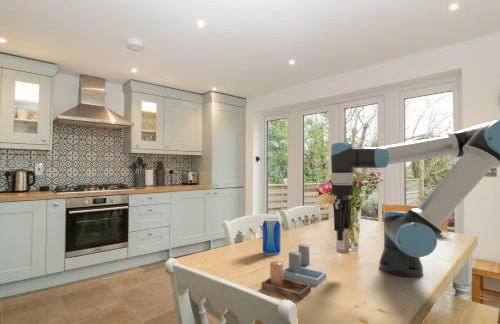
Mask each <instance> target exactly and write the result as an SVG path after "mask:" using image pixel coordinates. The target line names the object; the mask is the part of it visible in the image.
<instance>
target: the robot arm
mask: <svg viewBox="0 0 500 324" xmlns="http://www.w3.org/2000/svg"><path fill="white" fill-rule="evenodd" d="M442 157H451V158H459V159H458V160H457V161H456V162H455V164H454V165H453V166H452V167H451V168H450V169H449V170H448V172H447V173H446V174H445V175H444V176H443V177H442V179H441V180H440V181H439V182H438V183H437V184H436V185H435V186H434V188H433V189H432V190H431V191H430V193H429V194H428V195H427V196H426V197H425V199H424V200H423V201H421V203H420V204H418V206H417V207H416V208H409V209H408V211H397V210H396V211H391V210H390V211H389V210H388V211H385V212H383V219H382V220H383V250H382V252H381V256H380V259H379V264H378V265H379V269H380V270H382V271H384V272H386V273H388V274H391V275H396V276H399V277H407V278H408V277H409V278H411V277H412V278H413V277H414V278H415V277H420V276H422V275H423V274H424V267H423V264H422V261H421V259H420V258H423V257H424V258H425V257H426V256H429V255H430V254H432V253H434V251H435V249H436V248H437V244H438V240H437V239H438V237H439V236H441V235H440V234H441V233H443V227H442V224H444V222H445V221H446V220H447V219H448V218H449V216H451V214H453V212H454V211H455V210H456V209H457V207H458V206H459V205H460V204H461V203H462V202H463V201H464V200H465V198H466V197H468V195H469V194H470V193H471V192H472V191H473V190H474V189H475V187H476V186H477V185H478V184H479V182H481V180H482V179H483V178H484V177H485V176H486V175H487V174H488V173H489V171H490V170H491V169H495V168H500V118H498V119H494V120H491V121H488V122H484V123H481V124H476V125H473V126H471V127H469V128H468V127H467V128H465V129H461V130H457V131H454V132H452V131H451V132H448V133H447V134H446V136H440V137H433V138H428V139H421V140H415V141H409V142H402V143H396V144H391V145H385V146H384V145H383V146H375V147H374V146H373V147H372V146H371V147H353V143H351V142H349V141H348V142H346V141H345V142H335V143H332V144H331V150H330V163H331V164H330V170H331V175H330V178H331V183H332V185H331V195H332V196H336V197H335V198H336V199H335V202H333V204H332V207H333V224H334V227H333V230H334V231H337V248H336V250H337V249H342V250H345V231H344V229H345V230H349V231H350V229H352V220H351V219H352V217H351V216H352V214H351V213H352V208H351V206H352V200H351V199H349V196H353V194H354V185H353V183H354V176H353V175H354V174H353V173H354V172H353V171H354V169H383V168H387V167H388V165H395V164H401V163H408V162H413V161H423V160H428V159H429V160H430V159H436V158H437V159H438V158H442Z"/></svg>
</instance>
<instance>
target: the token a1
mask: <svg viewBox="0 0 500 324" xmlns="http://www.w3.org/2000/svg"><path fill="white" fill-rule="evenodd" d="M269 270H270V271H269V278H270V284H271V285H275V286H278V287H282V288H283V278H284V277H283V270H284V262H282V261H281V260H273V261H270V263H269Z"/></svg>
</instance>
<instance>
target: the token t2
mask: <svg viewBox="0 0 500 324" xmlns="http://www.w3.org/2000/svg"><path fill="white" fill-rule="evenodd" d="M344 231H345V250H342V249H337V231H336V233H335V234H336V236H335V237H336V242H335V244H336V246H335V247H336V253H338V254H341V255H348V254H350V229H349V230H345V229H344Z"/></svg>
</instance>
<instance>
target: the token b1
mask: <svg viewBox="0 0 500 324" xmlns="http://www.w3.org/2000/svg"><path fill="white" fill-rule="evenodd" d="M288 267H289V272H291V273H295V274H299V275H301V267H302V266H301V253H299V251H289V252H288Z"/></svg>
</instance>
